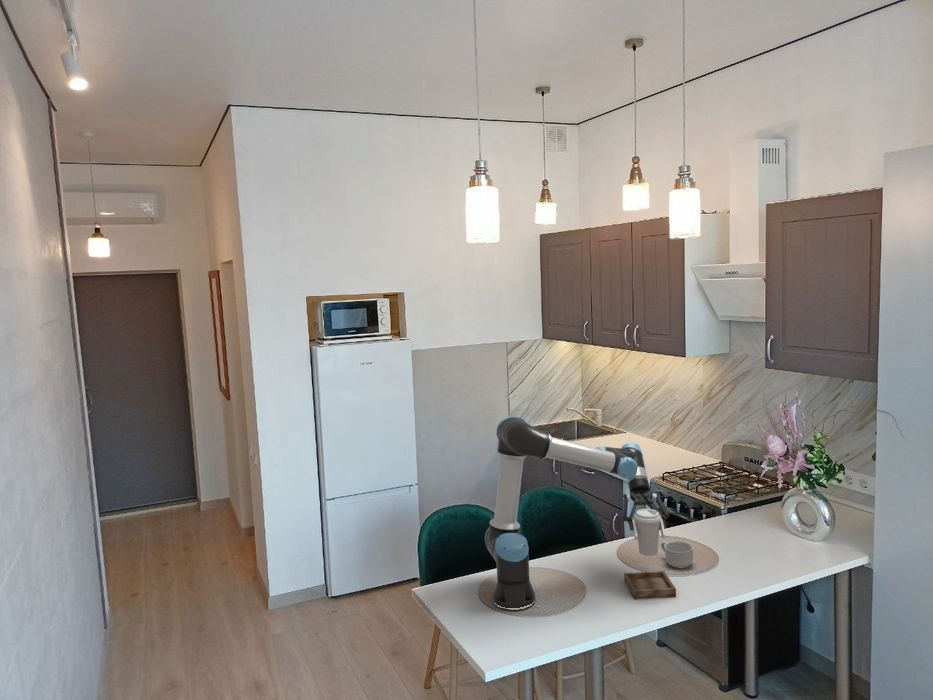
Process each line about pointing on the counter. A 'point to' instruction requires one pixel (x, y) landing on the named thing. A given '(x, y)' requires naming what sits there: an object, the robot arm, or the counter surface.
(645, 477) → the robot arm
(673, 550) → the teacup
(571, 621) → the counter surface
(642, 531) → the coffee cup
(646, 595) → the walnut tray
